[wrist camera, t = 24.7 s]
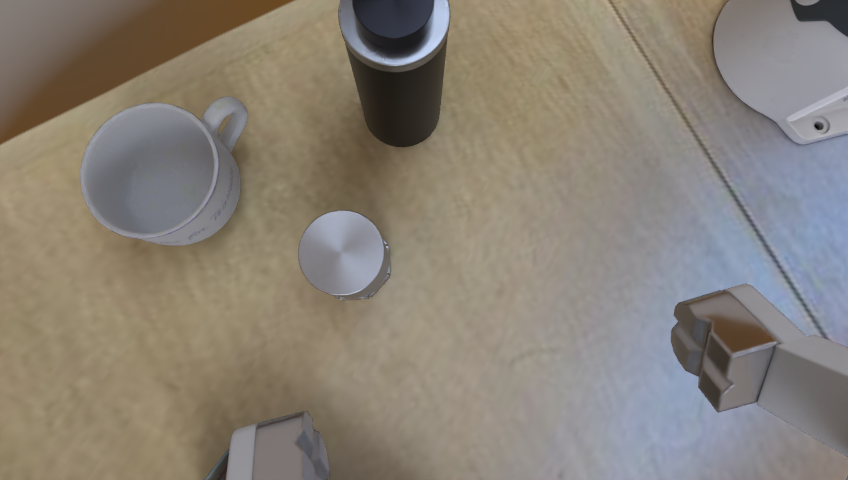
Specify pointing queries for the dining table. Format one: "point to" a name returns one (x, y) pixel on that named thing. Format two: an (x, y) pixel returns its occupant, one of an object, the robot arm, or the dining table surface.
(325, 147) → the dining table surface
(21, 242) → the dining table surface
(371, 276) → the silver metal cylinder
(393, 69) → the thermos
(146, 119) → the teacup
